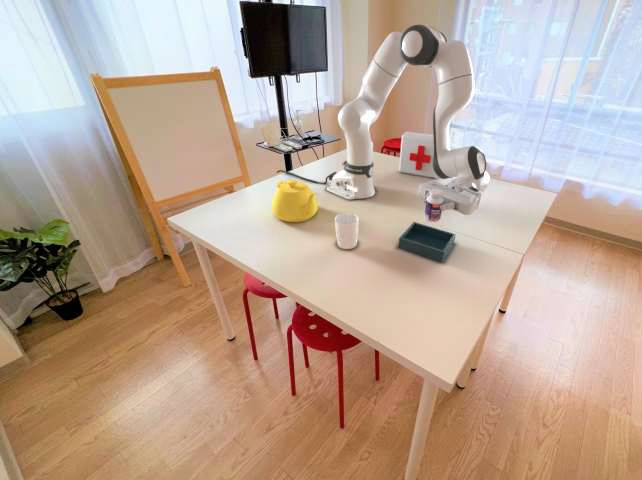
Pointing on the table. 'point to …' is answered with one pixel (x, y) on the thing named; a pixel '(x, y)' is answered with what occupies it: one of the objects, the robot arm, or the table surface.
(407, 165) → the bevelled white case
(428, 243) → the tote
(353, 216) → the white cup
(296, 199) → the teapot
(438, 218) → the pill bottle
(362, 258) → the table surface
